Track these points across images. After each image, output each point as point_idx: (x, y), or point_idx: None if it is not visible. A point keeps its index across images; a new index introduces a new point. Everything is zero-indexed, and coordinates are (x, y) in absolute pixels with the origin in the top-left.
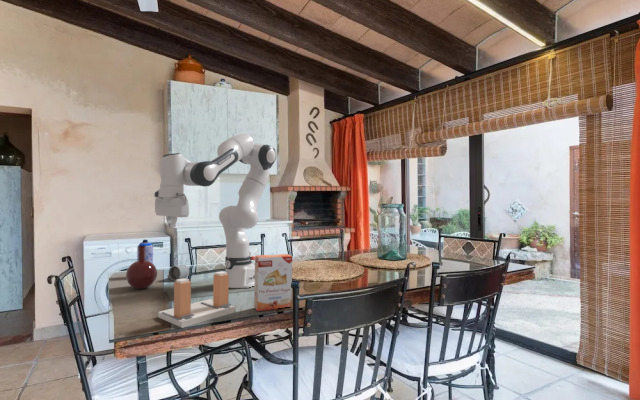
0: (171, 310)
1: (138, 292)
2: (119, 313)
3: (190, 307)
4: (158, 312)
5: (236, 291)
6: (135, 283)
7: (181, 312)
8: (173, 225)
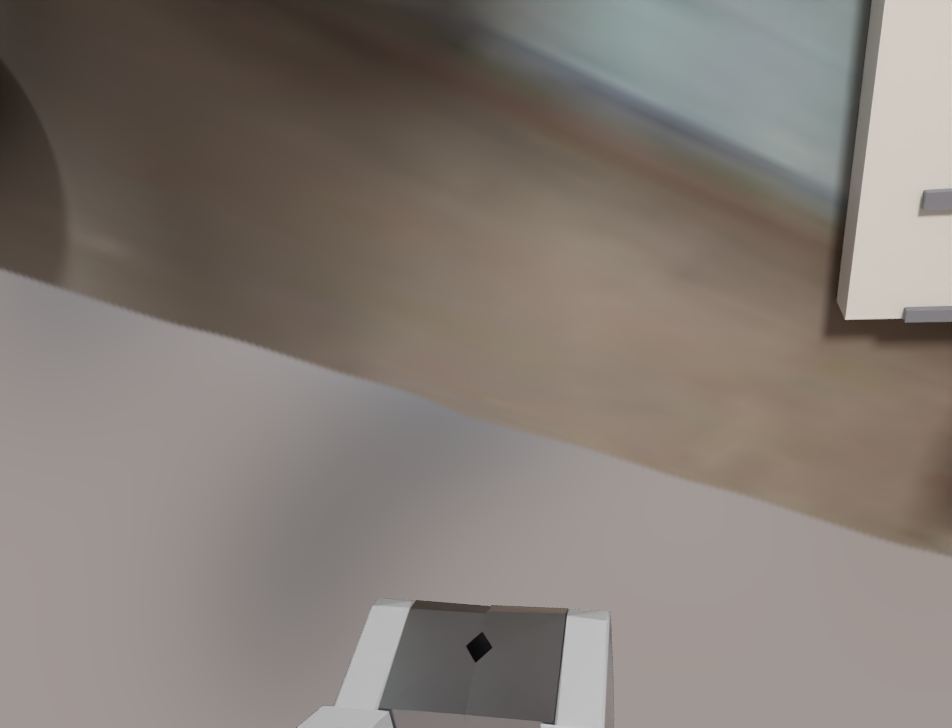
0: (905, 240)
1: (68, 139)
2: (544, 419)
3: None
4: (847, 317)
5: None
6: None
7: None
8: (610, 711)
